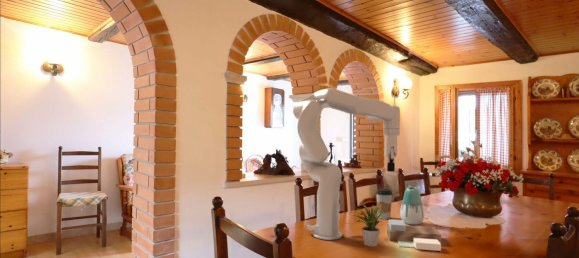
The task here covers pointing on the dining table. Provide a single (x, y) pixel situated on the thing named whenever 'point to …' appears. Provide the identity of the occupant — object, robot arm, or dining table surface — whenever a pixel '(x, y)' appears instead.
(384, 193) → the coffee cup
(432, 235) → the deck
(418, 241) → the cream block
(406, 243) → the mat
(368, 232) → the house plant
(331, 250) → the dining table surface
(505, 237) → the dining table surface
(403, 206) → the vase
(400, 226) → the gray rectangular block
